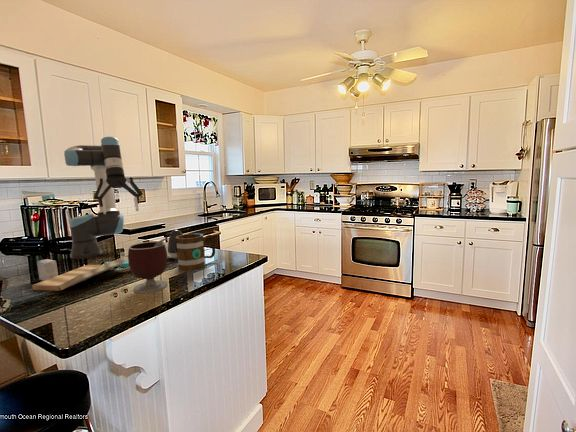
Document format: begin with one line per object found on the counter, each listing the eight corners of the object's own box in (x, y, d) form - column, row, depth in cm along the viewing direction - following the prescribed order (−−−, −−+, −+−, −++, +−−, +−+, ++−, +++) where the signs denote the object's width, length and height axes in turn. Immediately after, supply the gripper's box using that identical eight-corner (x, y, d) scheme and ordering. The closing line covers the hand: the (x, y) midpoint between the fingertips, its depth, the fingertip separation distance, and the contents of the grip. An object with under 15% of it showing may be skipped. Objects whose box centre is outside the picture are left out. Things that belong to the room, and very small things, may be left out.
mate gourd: (123, 293, 117) (117, 241, 115) (145, 281, 131) (140, 234, 128) (161, 294, 115) (156, 241, 113) (179, 281, 129) (175, 234, 126)
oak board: (87, 268, 152) (87, 264, 152) (109, 269, 151) (108, 265, 150) (32, 290, 125) (32, 285, 125) (58, 290, 123) (58, 285, 123)
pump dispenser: (164, 257, 168) (162, 230, 166) (182, 253, 176) (180, 227, 173) (172, 261, 161) (170, 232, 159) (191, 256, 168) (189, 229, 166)
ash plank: (111, 268, 150) (109, 265, 150) (130, 258, 148) (128, 255, 148) (61, 290, 123) (58, 285, 123) (83, 278, 121) (81, 273, 120)
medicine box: (59, 279, 138) (56, 260, 136) (47, 282, 134) (44, 263, 133) (50, 277, 142) (48, 258, 140) (39, 280, 138) (36, 261, 137)
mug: (183, 272, 140) (181, 240, 138) (172, 266, 151) (170, 236, 149) (222, 263, 153) (220, 233, 151) (210, 258, 163) (208, 230, 161)
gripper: (83, 166, 137) (90, 212, 134) (144, 165, 152) (151, 207, 149) (83, 172, 143) (89, 216, 140) (141, 171, 158) (148, 211, 155)
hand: (121, 212), depth 145 cm, fingers open, 13 cm apart
